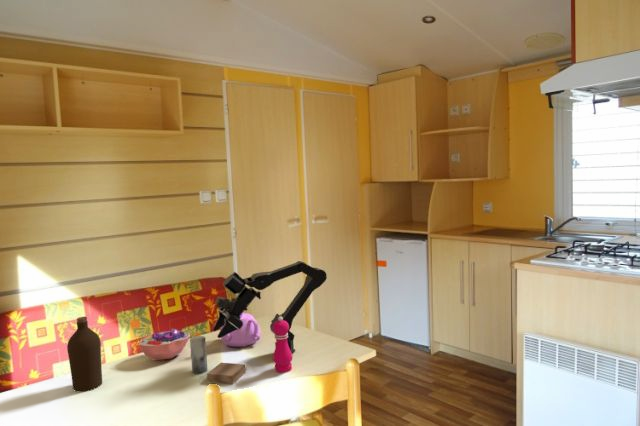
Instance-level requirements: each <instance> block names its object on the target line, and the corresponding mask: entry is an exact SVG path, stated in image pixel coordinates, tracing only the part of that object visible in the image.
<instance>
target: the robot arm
mask: <svg viewBox="0 0 640 426" xmlns="http://www.w3.org/2000/svg"><path fill="white" fill-rule="evenodd" d="M299 273H303V274H304V275H306V276H305V280H304V284H303V285H302V287H301V288H300V290H298V292H297V293H296V295H295V296H294V298H293V299H292V301H291V302H290V303H289V305H288V306H287V308H286V309H285V310H284V312H282V313H281V314H279V313H276V314H275V316H274V318H273V319H272V320H271V321H270V322H271V323H270V326H269V327H270V331H271V332H272V334H274V335H275V332H274V331H273V325H274V323H275V322H276V321H279V320H278V317H280V316H281V317H282V318H283V320H284V321H286V322H287V323H288V324H289V330H288V332H287V333H288V338H287V343H288V346H289V348H290V350H291V353H292V355H293V354H294V353H295V352H296V349H294V348H295V347H294V345H295V344H294V340H295V336H296V335H295V334H294V333H293V332H291V331H290V330H291V328H292V325H293V321H294V319H295V318H296V316H297V315H298V313H299V312H300V310H302V307H303V306H304V305H305V303H306V302H307V301H308V299H309V298H310V296H311V295H312V294H313V292H314V291H315V290H317V289H319V288H320V287H321V286H322V285H323V284H324V283H325V282H326V281H327V278H328V277H327V272H326V271H325V270H323V269H321V268H318V267H312V266H311V265H309V264H307V263H306V262H303V261H301V260H297V261H296V262H294V263H292V264H288V265H286V266H283V267H280V268H277V269H274V270H271V271H262V272H261V271H260V272H256V273H252V275H251V276H249V277H246V278H242V277H241V276H240V275H239V273H237V272H235V271H233V272H232V273H231V274H230V275H228V276H227V277H226V278H225V279H224V281H223V282H222V286H223V287H224V288H225V289H227V290H228V291H229V292H230V293H231V294H233V295H236V294H237V296H236V297H232V299H229V298H226V297H222V296H217V298H216V300H215V302H214V305H215V306H216V307H217V308H218V309H217V311H218V312H217V313H218V317H217V320H216V322H215V324H214V326H213V328H212V331H213V332H216V331H218V330H219V329H220V328H221V327H222V326H223V328H222V329H221V331H220V330H219V332H218V335H217V338H218V339H221V337H223V336H225V335H227V334H229V333H231V332H233V331H235V330H238V328H239V329H240V328H241V327H242V326H243V322H242V320H241V319H240V318H241V317H240V315H241V314H242V313H243V312H244V313H245V312H247V311H248V307H249V306H250V304H251V303H252V302H253V300H254V299H255V298H257V299H258V300H261V299H262V297H261V293H262V292H261V291H263V290H265V289H266V288H268V287H270V286H271V285H272V284H274V283H276V282H277V281H280V280H282V279H286V278H288V277H291V276H294V275H296V274H299ZM246 285H247V286H248V287H247V286H246ZM255 289H256V290H255ZM274 343H275V345H274V346H275V348H276V341H275V342H274ZM275 348H274V349H275Z"/></svg>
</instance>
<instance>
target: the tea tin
mask: <svg viewBox="0 0 640 426" xmlns="http://www.w3.org/2000/svg"><path fill="white" fill-rule="evenodd" d="M189 342H190V343H189V347H190V357H191V358H190V360H191V371H192V374H194V375H202V374H205V373H208V371H209V369H208V354H207V344H206V343H207V341H206V337H205V336H203V335H197V336H193V337H191V338H189Z"/></svg>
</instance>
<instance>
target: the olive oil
mask: <svg viewBox="0 0 640 426" xmlns="http://www.w3.org/2000/svg"><path fill="white" fill-rule="evenodd" d="M87 319H88V317H87V316H80V317H77V318H76V328H77V329H76V330H75V332H74V333H73V334H72V335H71V337H70V338H69V339H68V342H67V346H66V347H67V348H66V349H67V354H68V355H67V356H68V361H69V362H68V363H69V368H70V374H71V382H72V389H74V390H75V392H77V391H84V392H89V391H92V390H95V389H98V388H99V387H100V386H102V384H103V370H102V366H103V365H102V341H101V339H100V336H99V334H98V333H96V332H95V331H94V330H93V329H91V328H89V325H88V320H87ZM98 386H99V387H98ZM94 388H95V389H94ZM91 389H92V390H91ZM74 390H73V391H74ZM88 390H89V391H88Z"/></svg>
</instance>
